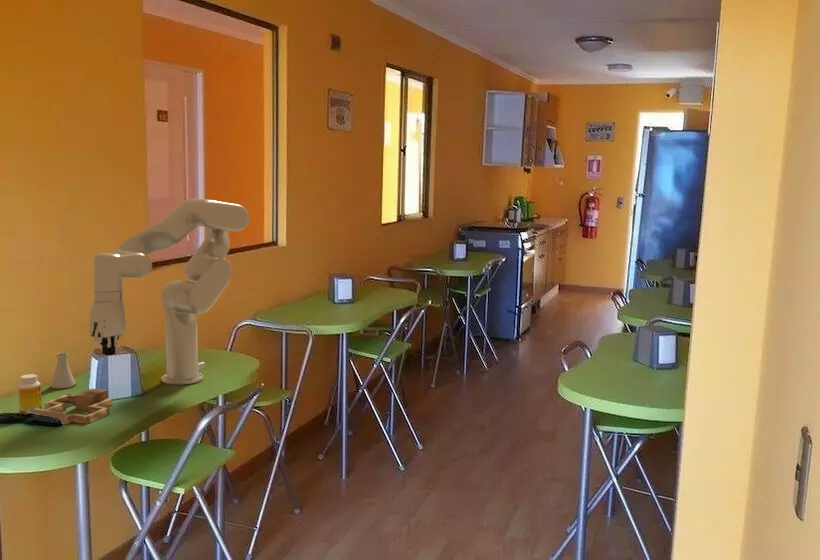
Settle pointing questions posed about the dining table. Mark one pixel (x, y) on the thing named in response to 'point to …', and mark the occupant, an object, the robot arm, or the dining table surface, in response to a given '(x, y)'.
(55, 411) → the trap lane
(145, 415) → the dining table surface
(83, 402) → the walnut block
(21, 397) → the supplement bottle
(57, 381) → the flask
